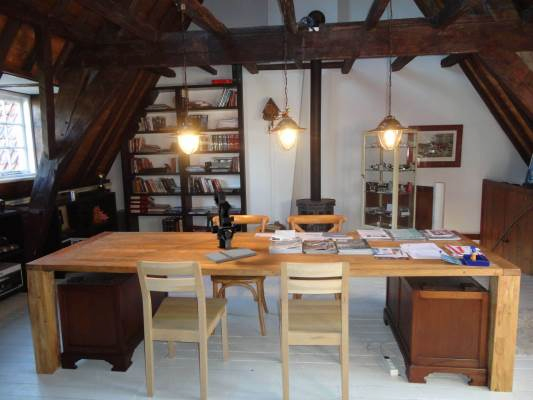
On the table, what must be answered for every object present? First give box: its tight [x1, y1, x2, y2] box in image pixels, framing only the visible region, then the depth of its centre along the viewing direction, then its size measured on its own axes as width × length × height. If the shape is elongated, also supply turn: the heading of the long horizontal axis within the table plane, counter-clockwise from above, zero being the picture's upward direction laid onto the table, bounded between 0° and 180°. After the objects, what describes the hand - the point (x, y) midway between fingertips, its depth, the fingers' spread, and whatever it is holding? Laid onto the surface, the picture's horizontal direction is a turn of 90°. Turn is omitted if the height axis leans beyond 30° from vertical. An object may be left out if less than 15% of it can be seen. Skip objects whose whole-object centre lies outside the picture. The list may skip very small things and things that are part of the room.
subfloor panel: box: [203, 246, 258, 264], centre depth 248 cm, size 16×29×2 cm, turn 123°
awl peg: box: [225, 230, 232, 250], centre depth 239 cm, size 4×4×10 cm
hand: (228, 240), depth 238 cm, fingers closed on awl peg, 4 cm apart
